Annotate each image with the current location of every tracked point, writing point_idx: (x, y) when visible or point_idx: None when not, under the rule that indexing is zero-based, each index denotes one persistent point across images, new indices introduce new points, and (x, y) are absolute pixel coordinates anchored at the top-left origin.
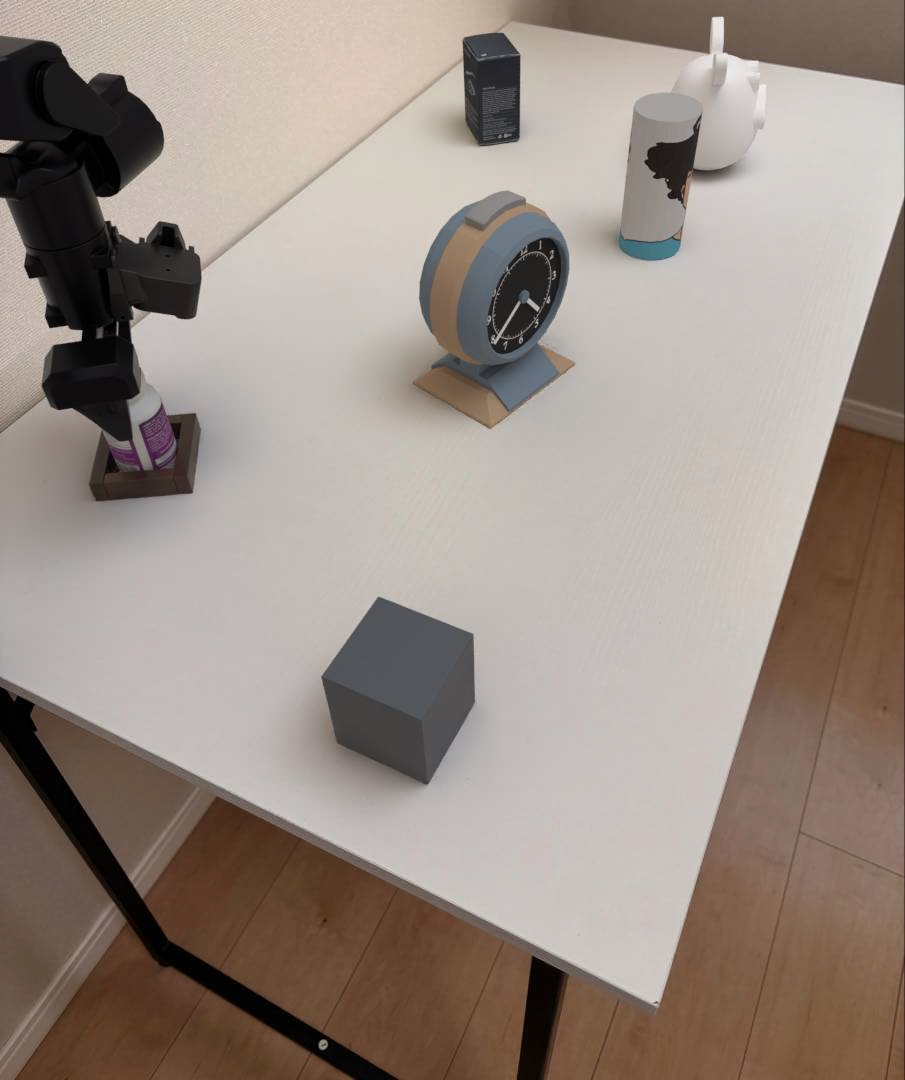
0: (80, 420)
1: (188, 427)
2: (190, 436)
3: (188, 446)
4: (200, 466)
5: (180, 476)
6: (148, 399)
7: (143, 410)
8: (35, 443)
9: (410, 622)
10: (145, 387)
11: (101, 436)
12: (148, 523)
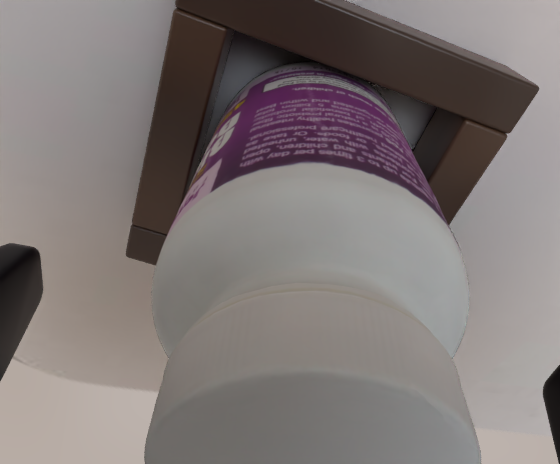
0: (53, 267)
1: (273, 7)
2: (332, 14)
3: (388, 39)
4: (400, 5)
5: (524, 110)
6: (408, 268)
7: (456, 294)
8: (115, 351)
9: None
10: (397, 313)
11: None
12: (529, 207)
